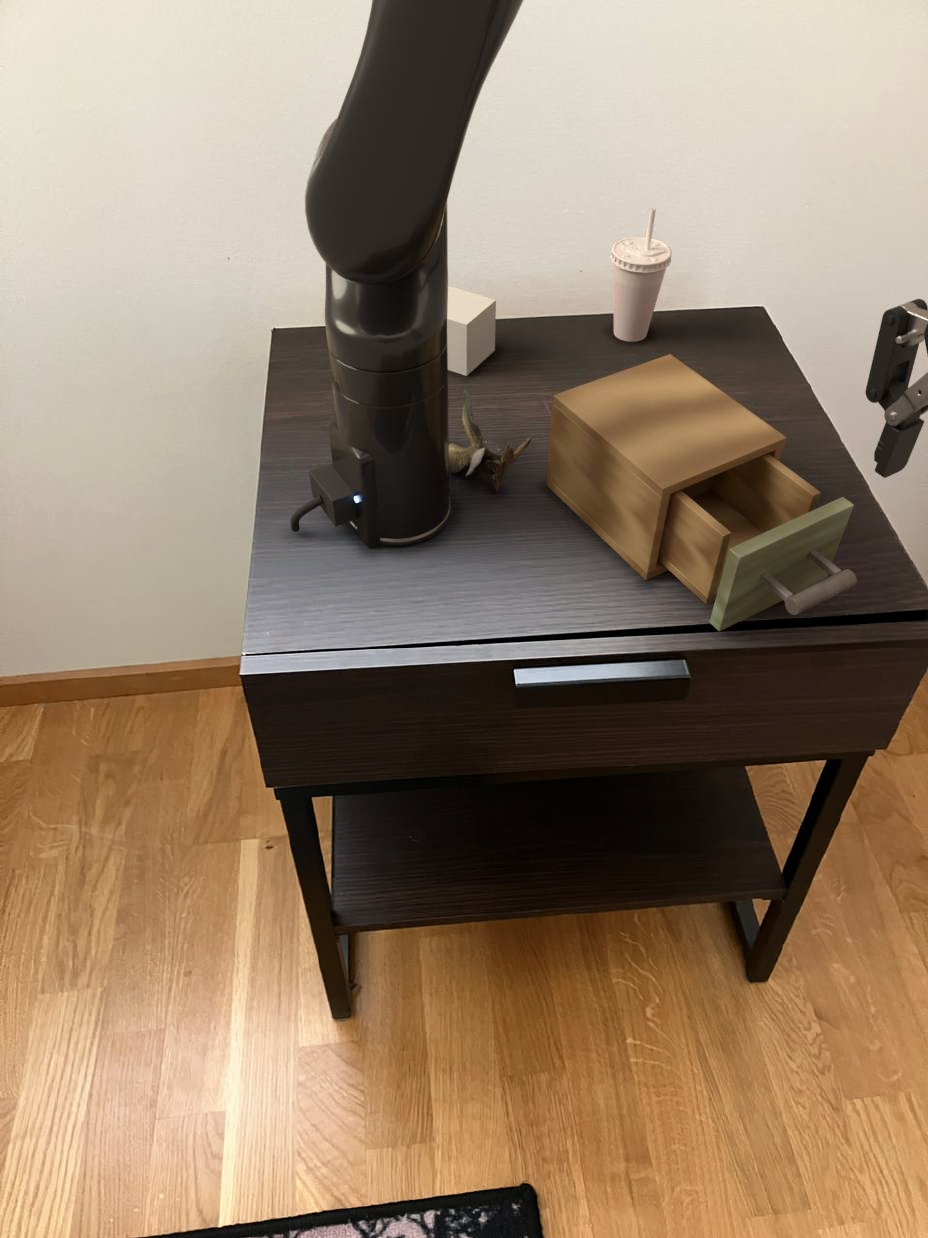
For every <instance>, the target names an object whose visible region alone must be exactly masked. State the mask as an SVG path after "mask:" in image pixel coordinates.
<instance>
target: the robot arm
mask: <svg viewBox="0 0 928 1238" xmlns="http://www.w3.org/2000/svg"><path fill="white" fill-rule="evenodd" d="M524 1H525V0H372V1H371V6H370V12H369V16H368V21H367V27H366V31H365V36H364V40H363V43H362V47H361V49H360V50H361V51H360V54H359V57H358V60H357V63H356V66H355V70H354V72H353V76H352V78H351V81H350V83H349V86H348V88H347V91H346V94H345V97H344V99H343V102H342V103H341V107H340V109H339V112H338V114H337V117H336V118H335V119H334V120H333V122H332V123H331V124H330V125H329V126H328V128H327V129H326V131H325V132H324V134H323V136H322V137H321V139H320V142H319V144H318V147H317V149H316V154H315V156H314V159H313V163H312V165H311V169H310V171H309V175H308V178H307V181H306V187H305V193H304V213H305V218H306V219H305V220H306V225H307V229H308V232H309V236H310V239H311V241H312V243H313V246H314V247H315V250H316V252H317V253H318V254H319V256H320V258H321V259H322V260H323V262H324V263H325V295H324V327H325V334H326V335H325V336H326V343H327V348H328V349H327V350H328V357H329V367H330V375H331V384H332V386H331V387H332V393H333V403H334V411H335V420H333V421H330V422H329V423H328V425H327V428H328V435H329V445H330V454H331V461H332V463H329V464H326V465H323V466H320V467H318V468H314V469H312V470H309V471H308V474H309V482H310V488H311V494H312V498H313V499H312V500H310V501H308V502H306V503H305V504H303V505H301V506H300V507H299V508H298V509H297V510H295V512H294V513H293V515H292V516H291V518H290V529H291V531H292V532H293V533H297V532H299V531H300V520H301V519H302V518H303V517H304V516H306V515H307V514H308V513H310V512H312V511H313V510H315V509H317V508H318V507H320V508H321V509H322V511H323V512H324V513H325V514H326V516H327V517H328V518H329V520H330V521H331V522H332V523H333V525H334V526H335V527H339V526H341V525H344V524H347V523H348V525H349V527H350V529H351V530H352V531H354V533H356V535H357V536H358V537H359V539H360V540H361V541H362V542H363V544H364V545H365V546H366V547H367V548H369V549H372V548H374V547H378V546H381V545H382V546H390V547H391V546H393V547H401V546H402V547H403V546H411V545H414V544H418V543H421V542H424V541H426V540H429V539H431V538H432V537H434V536H436V535H438V533H440V532H441V531H442V530H443V529H444V528H445V527H446V526H447V524H448V522H449V520H450V517H451V514H452V513H451V512H452V501H451V497H450V496H451V489H450V480H451V473H450V466H449V444H450V439H449V438H450V437H449V435H450V433H449V431H450V430H449V427H450V426H449V370H448V352H447V308H448V286H449V263H448V260H449V259H448V258H449V257H448V253H449V251H448V247H449V245H448V241H449V240H448V238H449V237H448V235H449V234H448V230H449V229H448V199H449V195H450V191H451V187H452V184H453V180H454V176H455V173H456V170H457V169H456V168H457V165H458V162H459V158H460V155H461V152H462V148H463V144H464V142H465V138H466V135H467V132H468V129H469V124H470V122H471V120H472V116H473V113H474V110H475V108H476V104H477V101H478V99H479V96H480V94H481V91H482V90H483V89H482V88H483V87H484V84H485V82H486V80H487V78H488V76H489V73H490V71H491V69H492V66H493V65H494V63H495V62H496V61H495V60H496V58H497V56H498V55H499V52H500V50H501V49H502V46H503V44H504V42H505V40H506V38H508V34H509V32H510V30H511V28H512V26H513V24H514V22H515V20H516V18H517V16H518V14H519V12H520V9H521V8H522V5H523V3H524ZM922 342H924V344H925V349H926V354H927V355H926V356H928V304H927V302H926V301H925V300H924V299H922V298H916V299H914V300H911V301H908V302H904V303H902V304H899V305H897V306H894V307H892V308H889V309H887V310H885V311H884V312H883V314H882V317H881V322H880V326H879V330H878V335H877V339H876V343H875V346H874V347H875V348H874V352H873V357H872V359H871V360H872V361H871V365H870V370H869V373H868V379H867V383H866V386H865V397H866V398H867V400H868V401H869V402H871V403H873V404H876V403H878V405H880V407H881V408H882V409H883V411H884V420H885V423H884V425H883V429H882V432H881V434H880V437H879V439H878V441H877V445H876V447H875V449H874V452H873V461H874V462H875V463H876V464H875V468H874V472H875V473H876V474H878V475H879V476H881V477H882V478H884V479H886V478H888V477H890V476H892V475H895V474H897V473H899V472H901V471H903V470H904V469H905V467H906V466H907V465H908V462H909V460H910V458H911V455H912V453H913V450H914V448H915V446H916V444H917V441H918V438H919V437H920V433H921V431H922V430H923V429H922V428H923V426H924V423H925V420H923V419H922V418H921V416H922V415H924V414H926V413H927V412H928V371H927V372H926V373H925V374H923V375H922V376H921V377H920V378H919V379H917V381H915V382H914V383H913V384H912V385H910V381H911V377H912V373H913V369H914V366H915V363H916V359H917V354H918V350H919V346H920V343H922ZM909 385H910V386H909Z"/></svg>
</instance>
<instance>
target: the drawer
mask: <svg viewBox="0 0 928 1238" xmlns="http://www.w3.org/2000/svg"><path fill="white" fill-rule="evenodd" d="M821 494H822V492H821V491H819V489H817V488H816V487H814V486H813V485H811V484H810V483H809V482H808V481H806V480H805V479H803V478H802V477H800V476H799V475H798V474H797V473H795V472H794V471H793V470H792V469H790V468H789V467H787V466H786V465H785V464H783V463H782V462H781V461H780V462H779V461H778V460H776V459H775V458H774V457H772V456H771V455H770V454H768V453H767V454H764V455H762V456H760V457H757V458H755V459H752V460H750V461H748V462H745V463H743V464H741V465H738V466H736V467H733V468H731V469H729V470H726V471H724V472H721V473H719V474H717V475H714V476H712V477H710V478H707V479H705V480H702V481H700V482H698V483H695V484H693V485H690V486H688V487H686V488H683V489H681V490H678V491H676V492H674V493H671V494H670V499H669V504H668V509H667V514H666V519H665V524H664V529H663V534H662V539H661V544H660V549H659V554H658V559H657V560H659V561H660V562H661V563H662V564H663V565H664V566H665V567H666V568H667V569H668V571H669V572H670V573H671V574H672V575H674V576H675V578H677V579H678V580H679V581H680V582H681V583H682V584H683V585H684V586H685V587H686V588H687V589H689V590H690V591H691V593H693V594H694V595H695V596H696V597H697V598H698V599H700V601H702V602H703V603H704V605H707V604H710V603H712V602H714V604H713V608H712V611H711V615H710V618H709V623H710V625H711V626H713V628H715V629H716V630H717V631H718V632H721V631H723V630H726V629H727V628H729V627H731V626H733V625H736V624H737V623H738V624H739V622H741V621H743V620H746V619H748V618H750V617H751V616H754V615H756V614H758V613H760V612H761V611H764V610H766V609H769V608H770V607H772V606H774V605H776V604H778V603H780V602H782V601H784V607H785V609H786V611H787V612H788V613H789V614H790V615H792V616H797V615H799V614H801V613H803V612H806V611H808V610H809V609H811V608H813V607H815V606H817V605H819V604H821V603H823V602H826V601H827V600H830V599H831V598H834V597H835V596H837V595H839V594H841V593H843V592H845V591H847V590H849V589H851V588H853V587H855V586H856V585H857V582H858V578H857V576H856V574H855V573H854V572H853V571H852V570H851V569H843V570H842V569H840V568H839V567H838V566H837V565H835V564H834V563H833V562H834V559H835V557H836V554H837V552H838V549H839V546H840V543H841V541H842V539H843V536H844V533H845V530H846V528H847V525H848V523H849V521H850V517H851V514H852V512H853V509H854V507H855V504H854V503H853V502H851V501H849V500H848V499H846V497H844V496H841V497H839V498H837V499H835V500H832V501H830V502H828V503H826V504H824V505H822V506H819V507H817V504H818V503H819V499H820V496H821ZM828 575H829V577H828Z"/></svg>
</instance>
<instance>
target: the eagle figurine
mask: <svg viewBox="0 0 928 1238" xmlns="http://www.w3.org/2000/svg"><path fill="white" fill-rule="evenodd" d="M462 395H463V397H462V400H463V407H462V416H461V417H462V418H461V420H462V425H463V428H464V431H465V433H466V435H467V437H468V439H469V442H470V445H469V446H468V447H465V446H462V445H459V444H457V443H456V442H452V443H449V466H450V474H451V473H454V474H456V473H458V472H460V471H461V470H462V469H465V468H466V467H469V469H468V471H467V472H466V475H465V477H468V476H469V475H471V474H473V472H474V471H475V469H476V468H477V469H478V470H480V472H482V473H484V474H485V475H487V476H489V477H491V478H492V480H493V485H494V488H495V491H496V492H499V491H500V488H501V483H502V482H503V479H504V477H505V475H506V474H507V472H508V471H509V469H510V467H511V466H512V465H513V464H514V462H515V461H516V460H517V459H518V458H519V457H520V456H521V455H522V453H523V452H524V451H525V450H526V449H527V448H528V447H529V445H530V443H531V441H532V439H533V438H532V437H531V436H529V437H528V438H527V439H526V440H525V441H524V442H523V443H521V444H520V446H519V447H517V448H516V450H515V449H514V448H513V446H512V445H511V444H510V442H508V443H507V444H506V446H505V449H504V451H503V455H500V454H497V453H495V452H493V451H491V450H490V448H489V447H488V446H487V445H486V444H485V443H483V442H484V437H483V433H482V430H481V428H480V427H479V424H478V423H477V422H476V421H475V420H474V418H473V414H474V413H473V411H472V407H473V406H472V397H471V395H470V393H469V392H468V390H467V389H464V391H463V393H462ZM487 462H489V463H493V464H494V466H495V470H496V471H494V470H493V468H492V467H491V466H489V465H488V464H487Z"/></svg>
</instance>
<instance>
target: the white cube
mask: <svg viewBox="0 0 928 1238" xmlns="http://www.w3.org/2000/svg"><path fill="white" fill-rule="evenodd" d="M496 318H497V300H496V299H495V298H490V297H487V296H485V295H482V294H477V293H474V292H471V291H469V290H465V289H462V288H459V287H458V288H457V287H454V286H450V285H448V308H447V352H448V371H449V372H453V373H456V374H459V375H462V376H464V377H467V376H469V375H470V373H472V372H473V371H474V370H475V369H476V368H477V367H479V365H481V364H482V363H483V362H484V361H485V360H486V359H487V358H488V357H490V356H491V355H492V354H493V353H494V352H495V351H496V320H497V319H496Z"/></svg>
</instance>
